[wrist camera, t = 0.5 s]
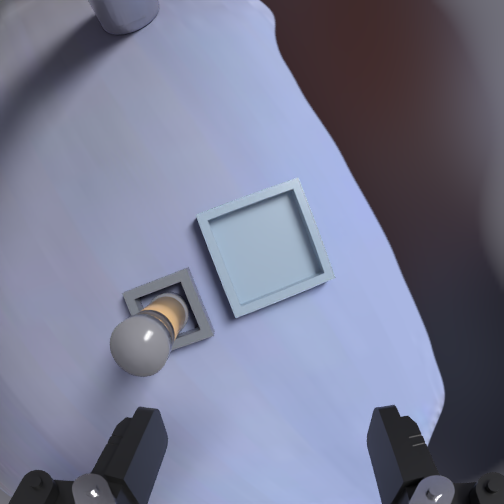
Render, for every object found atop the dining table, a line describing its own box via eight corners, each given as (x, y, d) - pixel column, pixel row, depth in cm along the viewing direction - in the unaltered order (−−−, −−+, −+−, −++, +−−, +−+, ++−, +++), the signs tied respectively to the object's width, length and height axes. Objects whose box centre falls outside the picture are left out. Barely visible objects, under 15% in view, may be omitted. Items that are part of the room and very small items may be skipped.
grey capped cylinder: (145, 299, 35) (100, 329, 21) (180, 286, 36) (152, 310, 22) (160, 335, 35) (125, 382, 21) (195, 322, 36) (177, 367, 22)
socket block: (127, 291, 35) (122, 293, 33) (188, 267, 36) (186, 268, 34) (153, 352, 35) (150, 357, 33) (214, 331, 36) (213, 335, 34)
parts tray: (197, 216, 36) (195, 214, 34) (294, 180, 36) (298, 177, 34) (235, 314, 36) (235, 318, 34) (329, 276, 37) (335, 277, 35)
